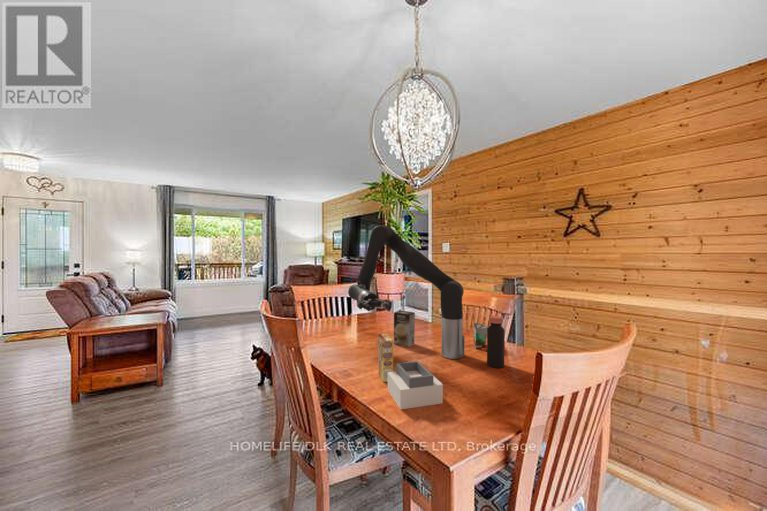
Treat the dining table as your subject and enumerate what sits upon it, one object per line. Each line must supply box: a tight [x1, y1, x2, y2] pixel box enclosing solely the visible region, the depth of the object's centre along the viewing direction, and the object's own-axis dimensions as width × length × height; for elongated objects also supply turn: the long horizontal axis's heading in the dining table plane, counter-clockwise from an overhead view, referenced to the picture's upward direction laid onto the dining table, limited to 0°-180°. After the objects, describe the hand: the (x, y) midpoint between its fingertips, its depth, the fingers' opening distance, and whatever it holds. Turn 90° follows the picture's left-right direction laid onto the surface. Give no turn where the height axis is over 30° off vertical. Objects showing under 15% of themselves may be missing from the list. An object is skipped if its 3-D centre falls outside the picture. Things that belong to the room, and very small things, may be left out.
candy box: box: [377, 333, 394, 383], centre depth 120 cm, size 9×4×15 cm, turn 13°
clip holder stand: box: [387, 360, 444, 411], centre depth 105 cm, size 14×14×9 cm
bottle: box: [486, 315, 506, 369], centre depth 132 cm, size 7×7×20 cm
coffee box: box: [393, 310, 416, 347], centre depth 160 cm, size 9×6×16 cm
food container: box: [473, 322, 488, 350], centre depth 156 cm, size 12×6×10 cm, turn 168°
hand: (379, 308), depth 129 cm, fingers open, 8 cm apart
